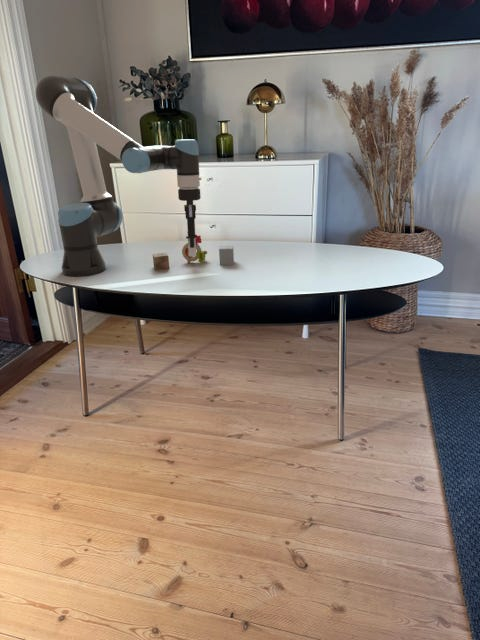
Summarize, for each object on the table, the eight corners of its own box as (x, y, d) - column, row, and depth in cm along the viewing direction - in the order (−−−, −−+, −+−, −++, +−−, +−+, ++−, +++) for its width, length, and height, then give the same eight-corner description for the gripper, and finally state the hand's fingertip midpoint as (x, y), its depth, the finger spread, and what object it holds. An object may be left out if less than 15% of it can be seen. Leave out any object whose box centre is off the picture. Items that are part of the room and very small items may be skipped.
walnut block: (155, 270, 172) (154, 257, 170) (153, 267, 176) (152, 254, 174) (169, 269, 173) (168, 255, 171) (167, 265, 177) (166, 252, 176)
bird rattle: (189, 270, 178) (211, 259, 178) (175, 243, 174) (197, 232, 174) (189, 266, 184) (210, 255, 183) (175, 240, 180) (197, 229, 179)
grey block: (219, 265, 175) (219, 249, 173) (220, 261, 180) (219, 246, 178) (233, 264, 175) (232, 248, 173) (233, 261, 180) (233, 245, 178)
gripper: (200, 189, 157) (203, 259, 166) (199, 185, 169) (202, 251, 178) (177, 190, 156) (182, 260, 165) (177, 186, 168) (181, 251, 177)
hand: (192, 255), depth 171 cm, fingers closed
